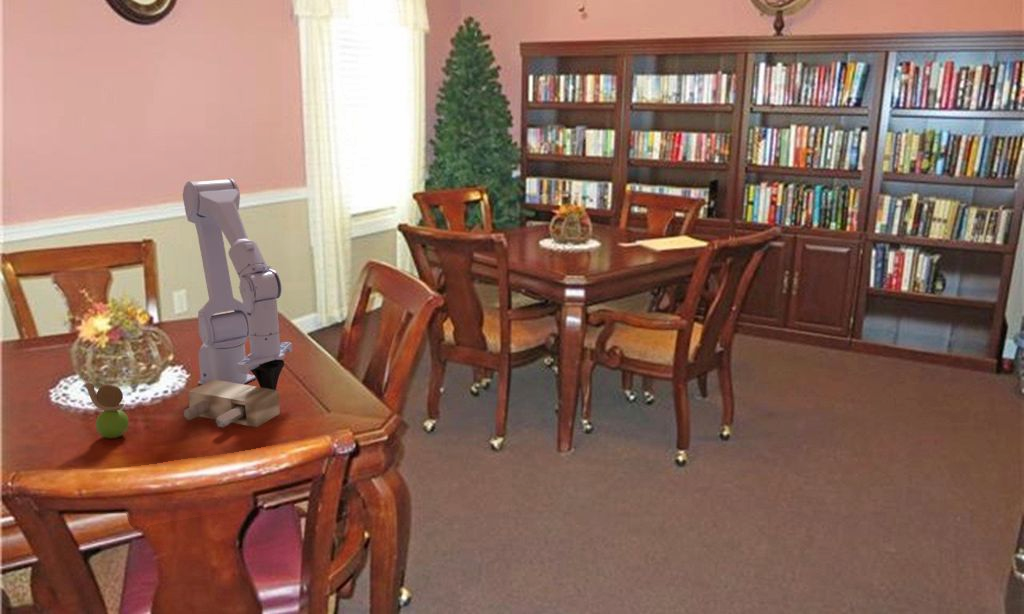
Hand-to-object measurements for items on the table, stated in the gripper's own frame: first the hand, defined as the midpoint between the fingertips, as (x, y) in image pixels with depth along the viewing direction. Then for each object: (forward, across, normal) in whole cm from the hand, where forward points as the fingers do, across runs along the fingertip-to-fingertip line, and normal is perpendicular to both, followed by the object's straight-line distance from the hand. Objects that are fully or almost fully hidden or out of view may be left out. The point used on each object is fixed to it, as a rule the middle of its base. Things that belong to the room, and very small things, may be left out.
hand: (269, 395), depth 157 cm
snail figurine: (+3, -23, +18) cm, 29 cm away
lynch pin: (+2, -8, 0) cm, 8 cm away
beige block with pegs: (+2, -7, +4) cm, 9 cm away
